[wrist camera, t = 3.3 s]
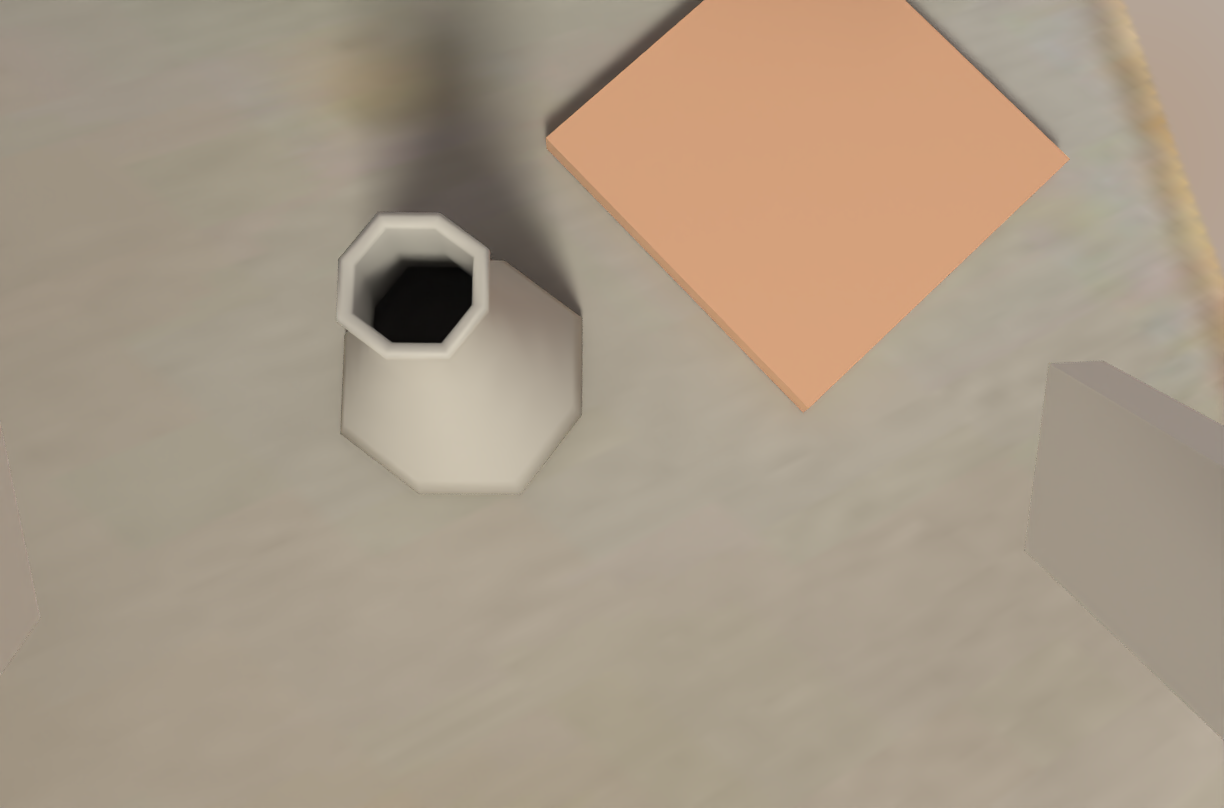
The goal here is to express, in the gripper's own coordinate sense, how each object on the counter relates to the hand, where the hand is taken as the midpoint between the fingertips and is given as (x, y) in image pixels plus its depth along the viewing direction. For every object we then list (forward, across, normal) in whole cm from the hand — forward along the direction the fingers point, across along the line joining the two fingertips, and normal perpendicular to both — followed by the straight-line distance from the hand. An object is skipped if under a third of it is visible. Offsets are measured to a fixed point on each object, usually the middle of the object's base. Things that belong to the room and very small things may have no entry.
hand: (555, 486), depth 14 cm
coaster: (+20, +9, +2) cm, 22 cm away
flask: (+18, -1, -4) cm, 19 cm away
